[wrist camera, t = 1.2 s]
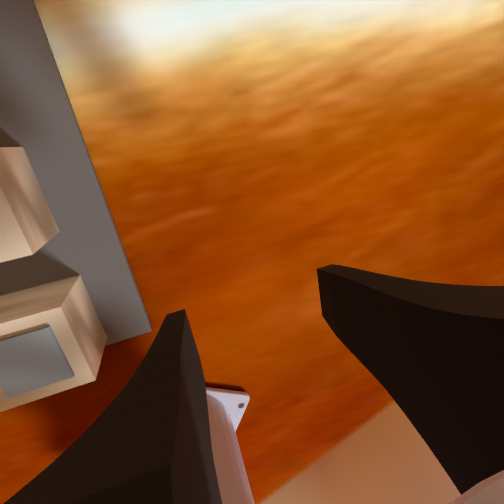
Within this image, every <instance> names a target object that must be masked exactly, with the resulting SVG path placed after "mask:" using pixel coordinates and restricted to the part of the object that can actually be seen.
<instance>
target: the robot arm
mask: <svg viewBox="0 0 504 504" xmlns="http://www.w3.org/2000/svg"><path fill="white" fill-rule="evenodd" d="M317 275H318V283H319V292H320V300H321V308H322V316H323V317H324V319H325V320H326V322H327V323H328V325H329V326H330V328H331V329H332V330H333V332H334V333H335V335H336V336H337V337H338V338H339V339H340V340H341V341H342V343H343V344H344V345H345V346H346V347H347V348H348V349H349V350H350V351H351V352H352V353H353V354H354V355H355V356H356V358H357V359H358V360H359V361H360V362H361V363H362V364H363V365H364V366H365V367H366V368H367V369H368V370H369V371H370V372H371V373H372V374H373V375H374V377H375V378H376V379H377V380H378V381H379V382H380V383H381V384H382V385H383V387H384V388H385V389H386V390H387V391H388V393H389V394H390V395H391V396H392V398H393V399H394V400H395V402H396V403H397V404H398V405H399V407H400V408H401V409H402V411H403V412H404V413H405V414H406V416H407V417H408V419H409V420H410V421H411V423H412V424H413V426H414V427H415V428H416V430H417V431H418V432H419V434H420V435H421V437H422V438H423V439H424V441H425V442H426V443H427V445H428V446H429V448H430V449H431V451H432V452H433V454H434V455H435V457H436V458H437V459H438V461H439V462H440V463H441V465H442V467H443V468H444V469H445V471H446V472H447V474H448V475H449V477H450V478H451V480H452V481H453V483H454V484H455V486H456V487H457V489H458V491H459V492H460V494H461V496H459V497H458V498H456V499H455V500H454V501H452V502H451V503H449V504H504V286H468V285H451V284H441V283H431V282H423V281H415V280H409V279H404V278H398V277H392V276H387V275H383V274H378V273H373V272H369V271H364V270H360V269H355V268H351V267H346V266H340V265H328V266H325V267H322V268H318V269H317ZM249 399H250V398H249V395H248V393H246V392H241V391H233V390H225V389H217V388H209V387H206V385H205V379H204V375H203V370H202V366H201V361H200V357H199V354H198V350H197V347H196V344H195V341H194V337H193V334H192V331H191V328H190V324H189V321H188V318H187V315H186V311H185V309H184V310H180V311H177V312H174V313H170V314H167V315H166V317H165V319H164V321H163V323H162V325H161V327H160V329H159V332H158V334H157V336H156V338H155V340H154V341H153V343H152V345H151V347H150V349H149V351H148V353H147V354H146V356H145V358H144V359H143V361H142V362H141V364H140V366H139V367H138V369H137V370H136V372H135V374H134V375H133V377H132V378H131V379H130V381H129V382H128V383H127V385H126V386H125V387H124V389H123V390H122V391H121V392H120V394H119V395H118V396H117V397H116V399H115V400H114V401H113V402H112V403H111V404H110V406H109V407H108V408H107V409H106V410H105V411H104V412H103V413H102V414H101V415H100V417H99V418H98V419H97V420H96V421H95V422H94V423H93V424H92V425H91V426H90V428H89V429H88V430H87V431H86V432H85V433H84V434H83V435H82V436H80V437H79V438H78V439H77V440H76V441H75V442H74V443H73V444H72V445H71V446H70V447H69V448H68V449H67V450H66V451H65V452H64V453H63V454H62V455H60V456H59V457H58V458H57V459H56V460H55V461H54V462H53V463H52V464H51V465H49V466H48V467H47V468H46V469H45V470H44V471H42V472H41V473H40V474H39V475H38V476H36V477H35V478H34V479H33V480H32V481H30V482H29V483H28V484H27V485H26V486H24V487H23V488H22V489H21V490H20V491H18V492H17V493H16V494H15V495H14V496H12V497H11V498H10V499H9V500H8V501H6V502H5V503H4V504H254V501H253V497H252V493H251V489H250V486H249V482H248V478H247V474H246V471H245V467H244V463H243V459H242V456H241V452H240V448H239V444H238V441H237V437H236V433H235V431H236V429H237V427H238V425H239V422H240V420H241V418H242V416H243V413H244V411H245V409H246V407H247V404H248V402H249ZM240 403H242V404H240ZM239 404H240V405H239Z"/></svg>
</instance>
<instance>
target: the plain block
mask: <svg viewBox="0 0 504 504" xmlns="http://www.w3.org/2000/svg"><path fill="white" fill-rule="evenodd" d="M59 232H60V231H59V229H58V227H57V224H56V222H55V220H54V217H53V215H52V213H51V210H50V208H49V206H48V203H47V201H46V199H45V197H44V194H43V192H42V190H41V187H40V185H39V183H38V180H37V178H36V176H35V173H34V171H33V169H32V167H31V164H30V162H29V160H28V157H27V155H26V153H25V150H24V148H23V147H0V263H1V262H5V261H9V260H13V259H17V258H21V257H25V256H29V255H33V254H34V253H35V252H37V251H38V250H39V249H40V248H41V247H42V246H44V245H45V244H46V243H47V242H48V241H49V240H51V239H52V238H53V237H54V236H55V235H56V234H57V233H59Z"/></svg>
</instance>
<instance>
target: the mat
mask: <svg viewBox="0 0 504 504" xmlns="http://www.w3.org/2000/svg"><path fill="white" fill-rule="evenodd" d="M0 147H23V148H24V150H25V153H26V155H27V157H28V160H29V162H30V164H31V167H32V169H33V171H34V173H35V176H36V178H37V180H38V183H39V185H40V187H41V190H42V192H43V194H44V197H45V199H46V201H47V203H48V206H49V208H50V210H51V213H52V215H53V217H54V220H55V222H56V224H57V227H58V229H59V231H60V232H59V233H57V234H56V235H55V236H54V237H53V238H52V239H51V240H49V241H48V242H47V243H46V244H45V245H44V246H42V247H41V248H40V249H39V250H38V251H37V252H35V253H34V254H33V255H29V256H25V257H21V258H17V259H13V260H9V261H5V262H1V263H0V296H2V295H6V294H9V293H13V292H17V291H21V290H25V289H28V288H32V287H36V286H40V285H43V284H47V283H51V282H55V281H58V280H62V279H66V278H70V277H74V276H77V275H80V276H81V278H82V280H83V283H84V285H85V287H86V290H87V292H88V294H89V297H90V299H91V301H92V303H93V306H94V308H95V310H96V313H97V315H98V317H99V320H100V322H101V324H102V327H103V329H104V331H105V334H106V336H107V340H106V344H105V346H106V345H110V344H113V343H116V342H119V341H122V340H126V339H129V338H132V337H135V336H138V335H142V334H145V333H148V332H151V331H152V327H151V324H150V321H149V319H148V316H147V313H146V310H145V307H144V305H143V302H142V299H141V296H140V294H139V291H138V288H137V285H136V283H135V280H134V277H133V274H132V272H131V269H130V266H129V263H128V261H127V258H126V255H125V252H124V249H123V247H122V244H121V241H120V238H119V236H118V233H117V230H116V227H115V225H114V222H113V219H112V216H111V214H110V211H109V208H108V205H107V202H106V200H105V197H104V194H103V191H102V189H101V186H100V183H99V180H98V178H97V175H96V172H95V169H94V167H93V164H92V161H91V158H90V156H89V153H88V150H87V147H86V144H85V142H84V139H83V136H82V133H81V131H80V128H79V125H78V122H77V120H76V117H75V114H74V111H73V109H72V106H71V103H70V100H69V97H68V95H67V92H66V89H65V86H64V84H63V81H62V78H61V75H60V73H59V70H58V67H57V64H56V62H55V59H54V56H53V53H52V51H51V48H50V45H49V42H48V39H47V37H46V34H45V31H44V28H43V26H42V23H41V20H40V17H39V15H38V12H37V9H36V6H35V4H34V1H33V0H0Z"/></svg>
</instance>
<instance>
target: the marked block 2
mask: <svg viewBox="0 0 504 504" xmlns="http://www.w3.org/2000/svg"><path fill="white" fill-rule="evenodd" d="M106 340H107V336H106V334H105V331H104V329H103V327H102V324H101V322H100V320H99V317H98V315H97V313H96V310H95V308H94V306H93V303H92V301H91V299H90V297H89V294H88V292H87V290H86V287H85V285H84V283H83V280H82V278H81V276H80V275H77V276H74V277H70V278H66V279H62V280H58V281H55V282H51V283H47V284H43V285H40V286H36V287H32V288H28V289H25V290H21V291H17V292H13V293H9V294H6V295H2V296H0V412H2V411H5V410H8V409H11V408H14V407H17V406H20V405H23V404H26V403H29V402H32V401H35V400H38V399H41V398H44V397H47V396H50V395H53V394H56V393H59V392H62V391H65V390H68V389H71V388H74V387H77V386H80V385H84V384H87V383H90V382H93V381H96V377H97V373H98V370H99V366H100V362H101V359H102V355H103V351H104V347H105V344H106Z"/></svg>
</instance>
